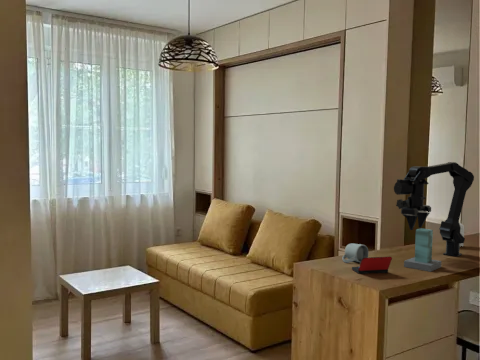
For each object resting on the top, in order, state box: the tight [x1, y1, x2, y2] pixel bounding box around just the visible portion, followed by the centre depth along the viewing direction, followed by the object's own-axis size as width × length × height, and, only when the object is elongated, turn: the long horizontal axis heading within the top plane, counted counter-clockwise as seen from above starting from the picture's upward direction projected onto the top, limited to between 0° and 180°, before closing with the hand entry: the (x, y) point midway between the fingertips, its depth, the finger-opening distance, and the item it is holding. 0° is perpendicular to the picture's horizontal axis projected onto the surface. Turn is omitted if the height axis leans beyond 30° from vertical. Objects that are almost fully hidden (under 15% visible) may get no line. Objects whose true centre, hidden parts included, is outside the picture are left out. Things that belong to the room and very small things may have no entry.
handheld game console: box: [351, 256, 393, 275], centre depth 182 cm, size 12×11×7 cm
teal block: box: [414, 228, 434, 263], centre depth 191 cm, size 5×5×13 cm
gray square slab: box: [403, 256, 442, 272], centre depth 191 cm, size 11×11×2 cm
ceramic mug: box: [341, 242, 369, 264], centre depth 200 cm, size 11×8×8 cm
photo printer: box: [459, 222, 465, 248], centre depth 233 cm, size 10×4×12 cm, turn 123°
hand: (415, 228), depth 208 cm, fingers open, 9 cm apart
